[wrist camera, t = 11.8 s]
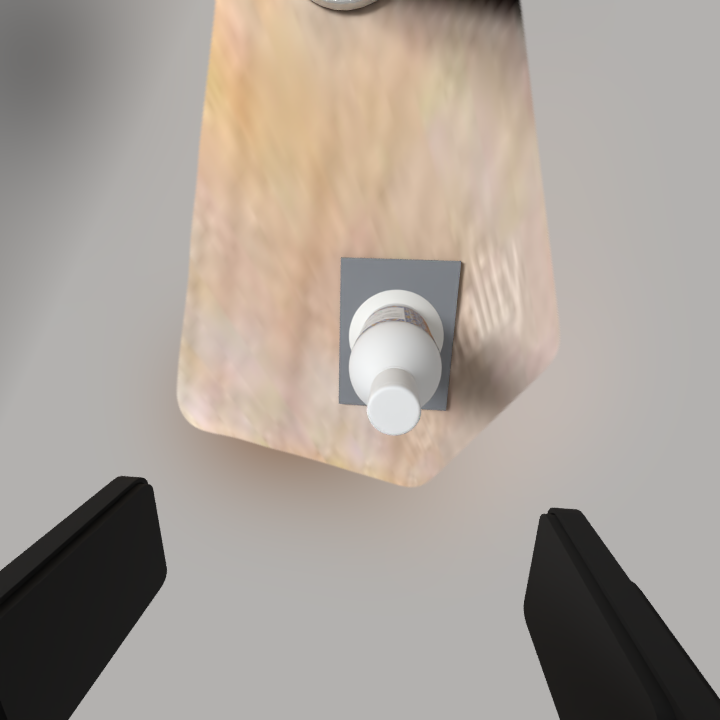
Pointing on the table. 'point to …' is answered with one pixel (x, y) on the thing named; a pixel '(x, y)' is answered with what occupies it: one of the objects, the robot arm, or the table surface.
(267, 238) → the table surface
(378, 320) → the bath foam
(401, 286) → the rubber mat
